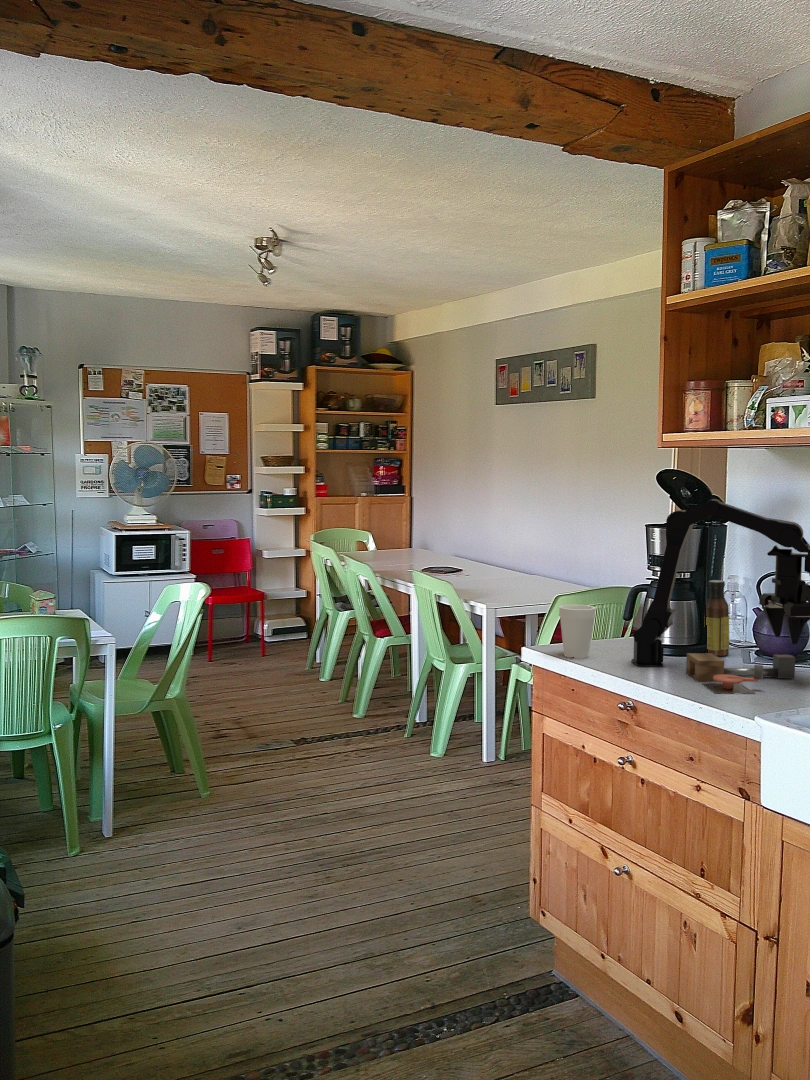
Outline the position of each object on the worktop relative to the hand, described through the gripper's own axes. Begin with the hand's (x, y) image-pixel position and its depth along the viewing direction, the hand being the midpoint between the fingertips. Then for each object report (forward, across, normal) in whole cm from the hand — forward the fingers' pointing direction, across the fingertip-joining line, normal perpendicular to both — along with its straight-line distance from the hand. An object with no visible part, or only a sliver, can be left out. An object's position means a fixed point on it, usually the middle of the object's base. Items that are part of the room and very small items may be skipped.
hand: (785, 640), depth 221 cm
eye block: (+9, 0, +19) cm, 21 cm away
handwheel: (+9, -11, +16) cm, 21 cm away
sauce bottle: (+9, +27, +7) cm, 29 cm away
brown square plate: (+9, -11, +18) cm, 23 cm away
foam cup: (+9, +25, +45) cm, 52 cm away
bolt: (+9, 0, +7) cm, 11 cm away
